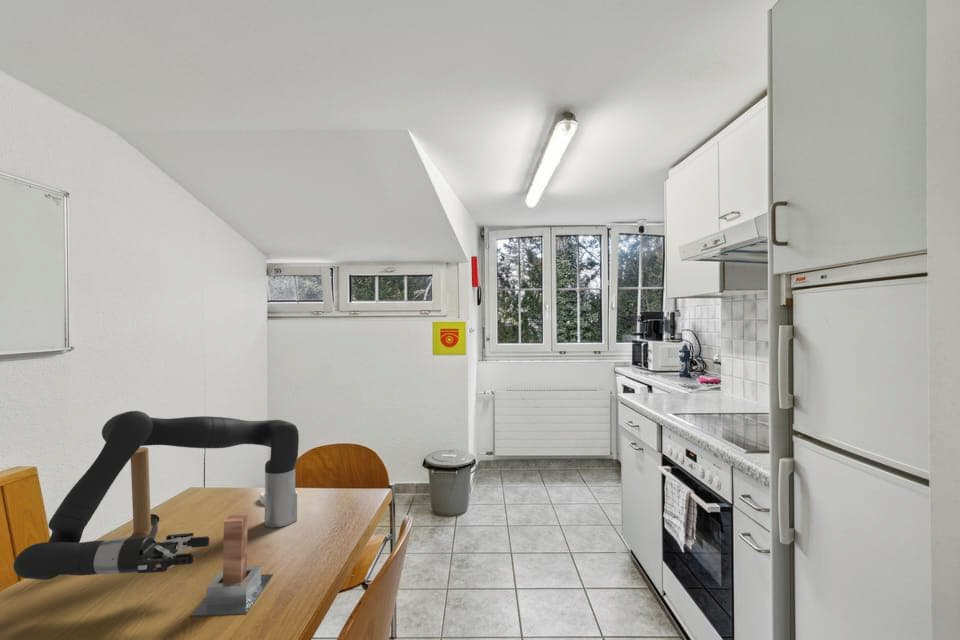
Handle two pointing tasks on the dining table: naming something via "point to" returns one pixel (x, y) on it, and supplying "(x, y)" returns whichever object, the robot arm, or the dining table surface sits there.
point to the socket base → (232, 606)
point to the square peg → (235, 548)
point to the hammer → (142, 496)
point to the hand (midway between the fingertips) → (201, 549)
